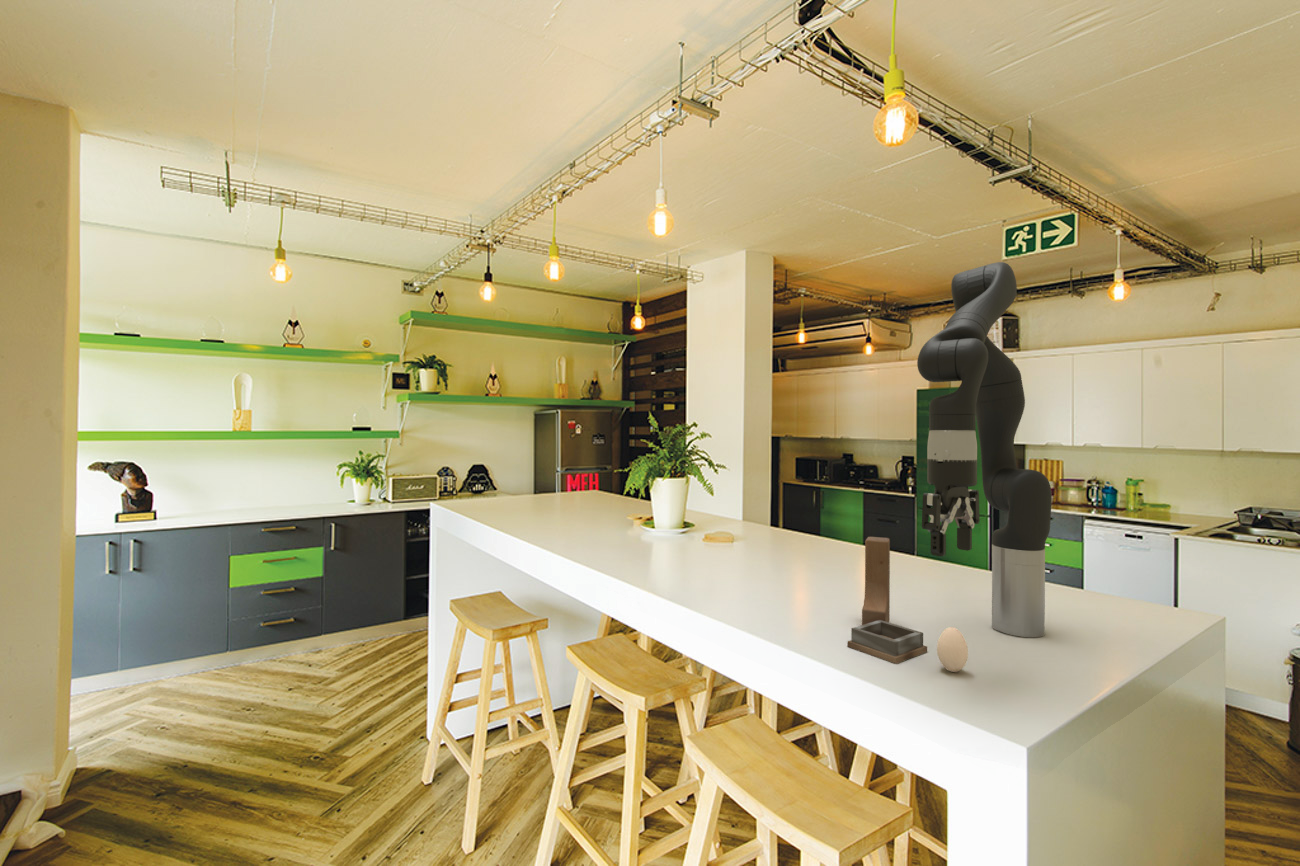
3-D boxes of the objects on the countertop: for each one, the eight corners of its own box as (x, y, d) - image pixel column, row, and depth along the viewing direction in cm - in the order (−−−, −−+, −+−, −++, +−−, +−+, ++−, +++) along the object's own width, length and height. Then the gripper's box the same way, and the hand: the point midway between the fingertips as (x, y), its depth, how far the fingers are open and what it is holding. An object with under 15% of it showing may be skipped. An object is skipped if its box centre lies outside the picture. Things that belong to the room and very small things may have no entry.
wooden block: (885, 634, 117) (885, 544, 117) (861, 630, 119) (862, 542, 119) (889, 621, 125) (890, 537, 125) (867, 618, 127) (867, 536, 127)
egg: (971, 671, 99) (971, 627, 99) (963, 679, 96) (963, 634, 96) (942, 663, 102) (942, 621, 102) (933, 671, 99) (933, 627, 99)
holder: (878, 636, 116) (878, 618, 116) (927, 651, 108) (927, 632, 108) (847, 646, 110) (847, 628, 110) (896, 663, 102) (896, 643, 102)
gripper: (951, 455, 106) (951, 544, 106) (907, 457, 98) (907, 553, 98) (995, 457, 100) (994, 551, 100) (952, 459, 92) (951, 561, 92)
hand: (951, 552), depth 99 cm, fingers open, 8 cm apart
